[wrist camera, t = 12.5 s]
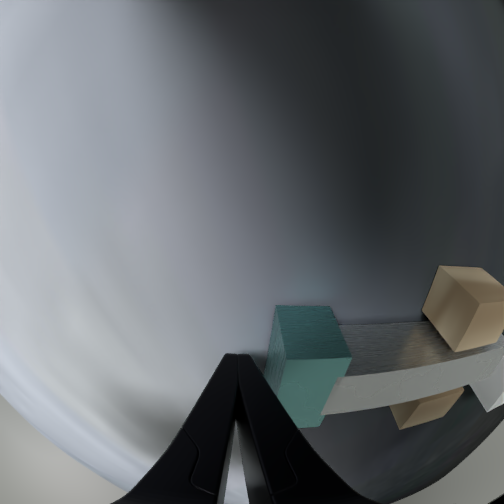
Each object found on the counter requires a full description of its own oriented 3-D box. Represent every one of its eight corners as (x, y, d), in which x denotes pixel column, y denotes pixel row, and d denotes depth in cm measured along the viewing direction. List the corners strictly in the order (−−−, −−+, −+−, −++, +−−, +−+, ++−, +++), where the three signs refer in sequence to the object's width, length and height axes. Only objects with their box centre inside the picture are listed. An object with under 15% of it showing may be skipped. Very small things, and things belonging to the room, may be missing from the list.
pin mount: (423, 380, 12) (443, 416, 10) (381, 388, 12) (399, 429, 9) (481, 267, 9) (518, 299, 7) (438, 265, 9) (479, 303, 7)
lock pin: (460, 357, 11) (481, 387, 9) (263, 378, 10) (268, 429, 8) (490, 300, 10) (519, 329, 8) (275, 305, 9) (286, 359, 7)
